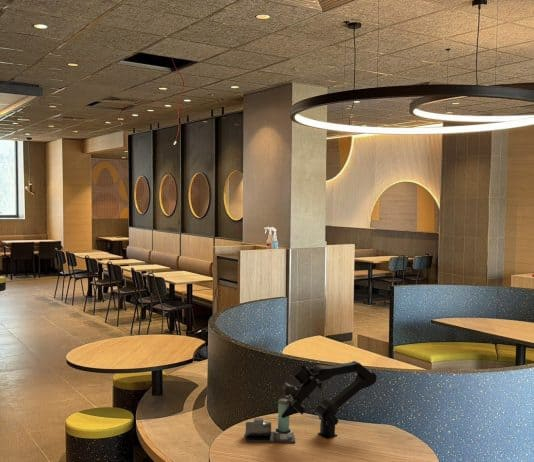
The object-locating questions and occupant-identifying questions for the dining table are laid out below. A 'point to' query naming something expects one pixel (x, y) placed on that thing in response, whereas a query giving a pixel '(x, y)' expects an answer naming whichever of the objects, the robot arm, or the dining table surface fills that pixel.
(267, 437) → the grey socket base
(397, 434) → the dining table surface
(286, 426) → the green capped cylinder
